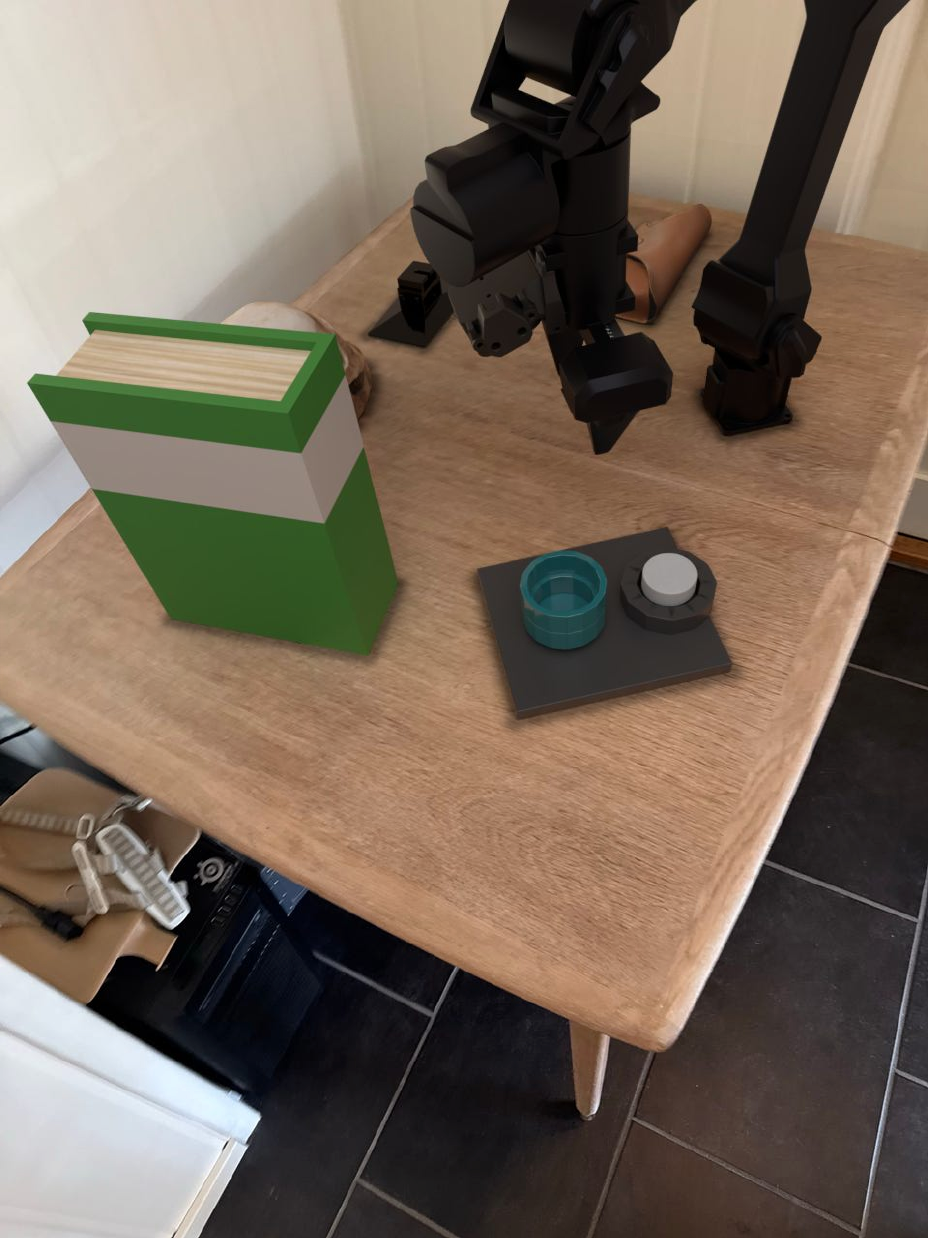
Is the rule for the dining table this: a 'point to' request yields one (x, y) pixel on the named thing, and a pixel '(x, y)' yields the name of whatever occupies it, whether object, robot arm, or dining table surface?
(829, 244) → the dining table surface
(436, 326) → the build plate
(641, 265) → the sunglasses case
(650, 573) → the button
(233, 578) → the hardback book
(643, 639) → the dark grey button base
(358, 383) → the coin bank
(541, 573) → the bowl
